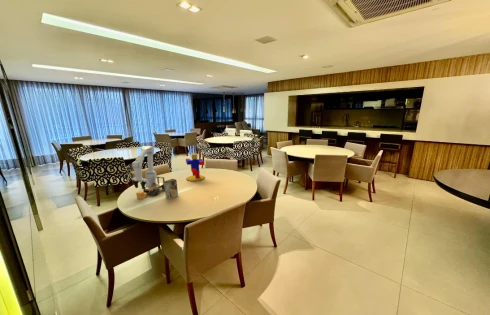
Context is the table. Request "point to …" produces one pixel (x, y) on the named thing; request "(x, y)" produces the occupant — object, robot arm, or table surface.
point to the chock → (141, 195)
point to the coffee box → (171, 188)
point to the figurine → (195, 168)
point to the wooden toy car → (155, 187)
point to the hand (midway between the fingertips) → (140, 188)
